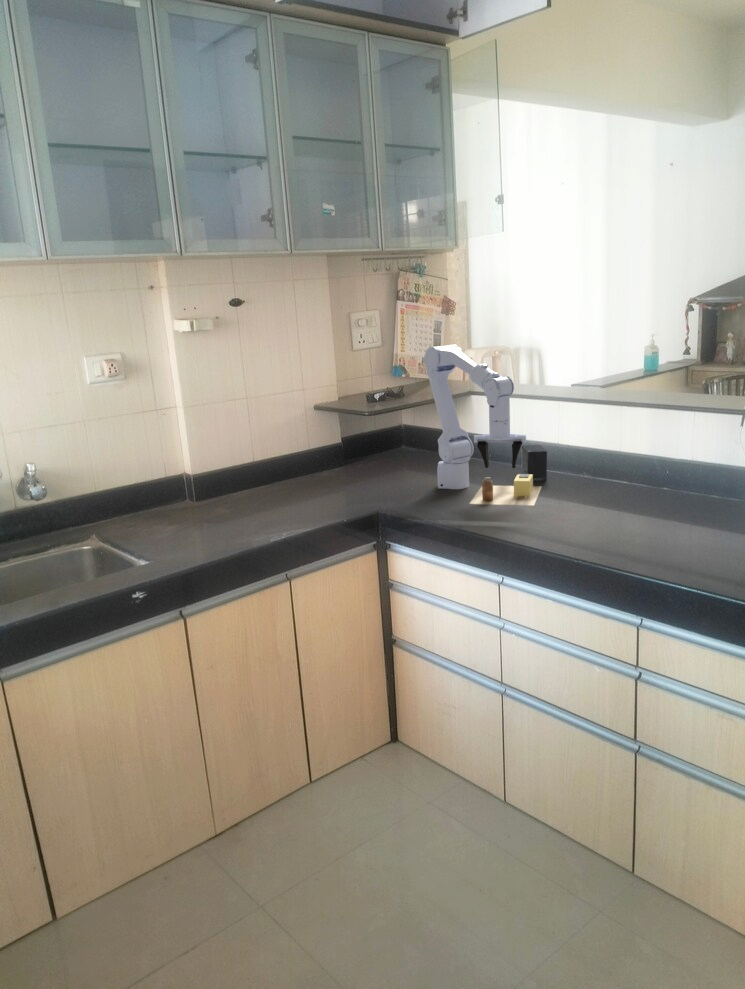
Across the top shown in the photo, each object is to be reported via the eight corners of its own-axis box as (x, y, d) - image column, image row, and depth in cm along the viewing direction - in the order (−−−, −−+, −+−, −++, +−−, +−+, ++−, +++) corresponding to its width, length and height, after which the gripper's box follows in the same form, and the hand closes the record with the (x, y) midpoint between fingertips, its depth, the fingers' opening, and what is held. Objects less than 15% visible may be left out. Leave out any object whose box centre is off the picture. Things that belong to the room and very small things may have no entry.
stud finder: (513, 495, 218) (513, 479, 217) (517, 488, 225) (517, 473, 224) (529, 496, 217) (529, 480, 215) (532, 489, 224) (532, 473, 223)
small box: (548, 483, 233) (548, 450, 231) (527, 485, 233) (526, 451, 231) (541, 475, 243) (541, 443, 241) (521, 477, 244) (520, 445, 241)
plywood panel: (469, 507, 213) (469, 503, 213) (482, 488, 232) (482, 485, 232) (534, 509, 208) (533, 505, 207) (541, 489, 227) (541, 486, 227)
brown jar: (481, 501, 215) (481, 479, 213) (483, 498, 218) (482, 476, 216) (492, 501, 214) (491, 479, 212) (493, 498, 217) (493, 476, 215)
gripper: (471, 422, 210) (472, 470, 214) (524, 422, 206) (524, 470, 210) (475, 418, 217) (476, 464, 220) (526, 418, 213) (527, 465, 216)
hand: (500, 467), depth 215 cm, fingers open, 7 cm apart
